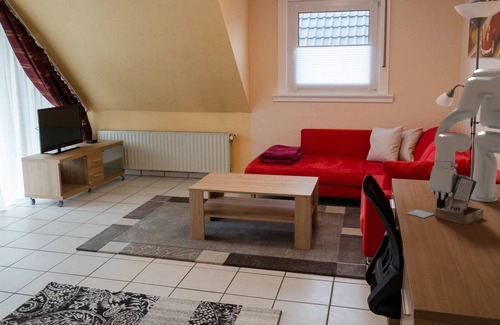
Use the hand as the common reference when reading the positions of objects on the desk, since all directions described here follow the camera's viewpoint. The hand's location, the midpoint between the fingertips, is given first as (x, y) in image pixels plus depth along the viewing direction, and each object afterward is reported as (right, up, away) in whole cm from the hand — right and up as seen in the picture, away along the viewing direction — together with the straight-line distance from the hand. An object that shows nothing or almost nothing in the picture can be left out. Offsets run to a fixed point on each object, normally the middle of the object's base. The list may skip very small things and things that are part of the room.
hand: (440, 207), depth 203 cm
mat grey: (-8, -3, 0) cm, 9 cm away
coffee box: (+4, -2, -3) cm, 5 cm away
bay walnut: (+5, -3, -5) cm, 8 cm away
